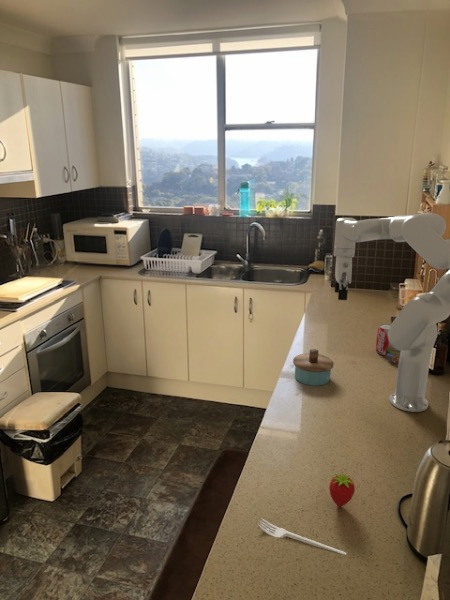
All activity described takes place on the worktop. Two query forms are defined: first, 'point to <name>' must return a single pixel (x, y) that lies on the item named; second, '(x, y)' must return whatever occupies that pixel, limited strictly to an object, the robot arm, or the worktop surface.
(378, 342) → the soda can
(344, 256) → the robot arm
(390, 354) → the tin
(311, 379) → the teal bowl
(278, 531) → the fork
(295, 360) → the walnut lid
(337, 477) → the strawberry
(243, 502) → the worktop surface
